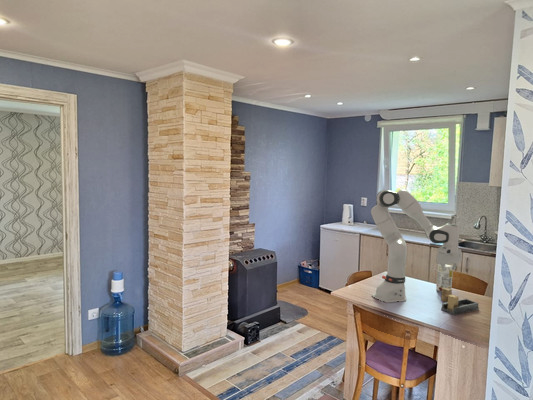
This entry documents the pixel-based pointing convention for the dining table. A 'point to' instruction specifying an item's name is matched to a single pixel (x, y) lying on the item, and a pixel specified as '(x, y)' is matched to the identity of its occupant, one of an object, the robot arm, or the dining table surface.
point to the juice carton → (444, 277)
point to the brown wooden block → (445, 294)
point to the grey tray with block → (459, 305)
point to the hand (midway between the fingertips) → (448, 270)
